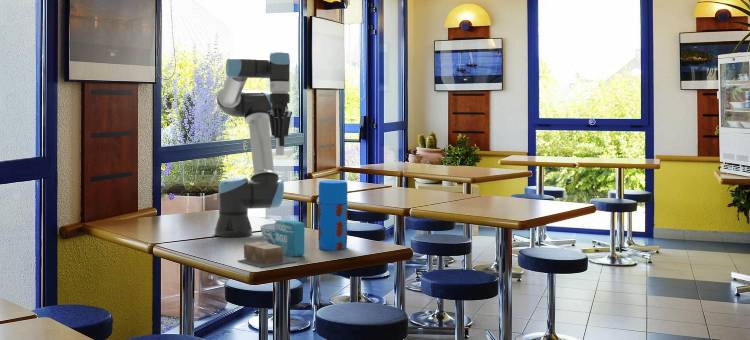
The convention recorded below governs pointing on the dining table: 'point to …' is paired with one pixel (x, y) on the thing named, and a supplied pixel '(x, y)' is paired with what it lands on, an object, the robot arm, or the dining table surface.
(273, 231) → the chinaware
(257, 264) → the mat
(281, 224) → the data package
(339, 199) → the thermos
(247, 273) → the dining table surface
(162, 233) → the dining table surface
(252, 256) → the block
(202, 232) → the dining table surface
